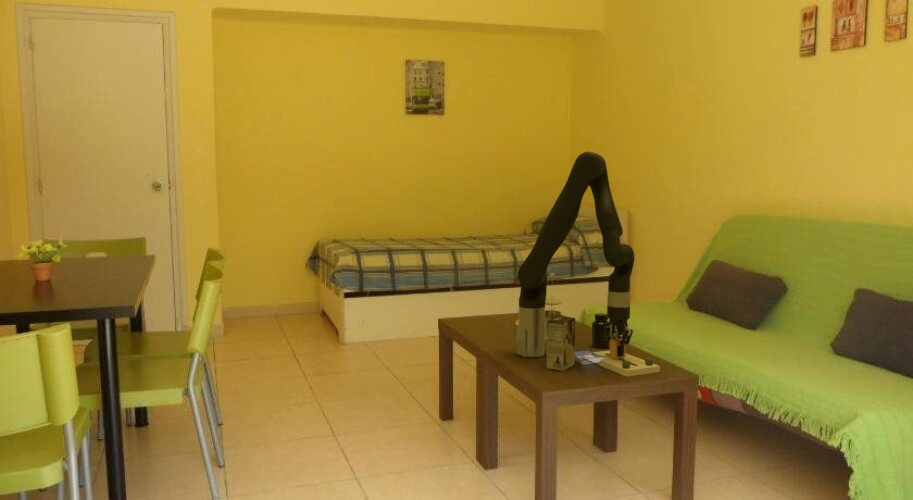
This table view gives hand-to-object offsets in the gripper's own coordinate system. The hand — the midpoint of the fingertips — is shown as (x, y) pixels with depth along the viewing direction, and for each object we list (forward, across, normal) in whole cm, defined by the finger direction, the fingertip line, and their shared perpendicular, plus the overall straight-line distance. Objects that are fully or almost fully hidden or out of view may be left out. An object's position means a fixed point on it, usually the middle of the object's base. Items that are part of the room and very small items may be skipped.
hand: (617, 354), depth 259 cm
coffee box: (+3, -5, -19) cm, 20 cm away
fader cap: (+1, 0, 0) cm, 1 cm away
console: (+3, +2, 0) cm, 4 cm away
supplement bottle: (+3, -23, +9) cm, 25 cm away
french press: (+3, -43, 0) cm, 43 cm away
